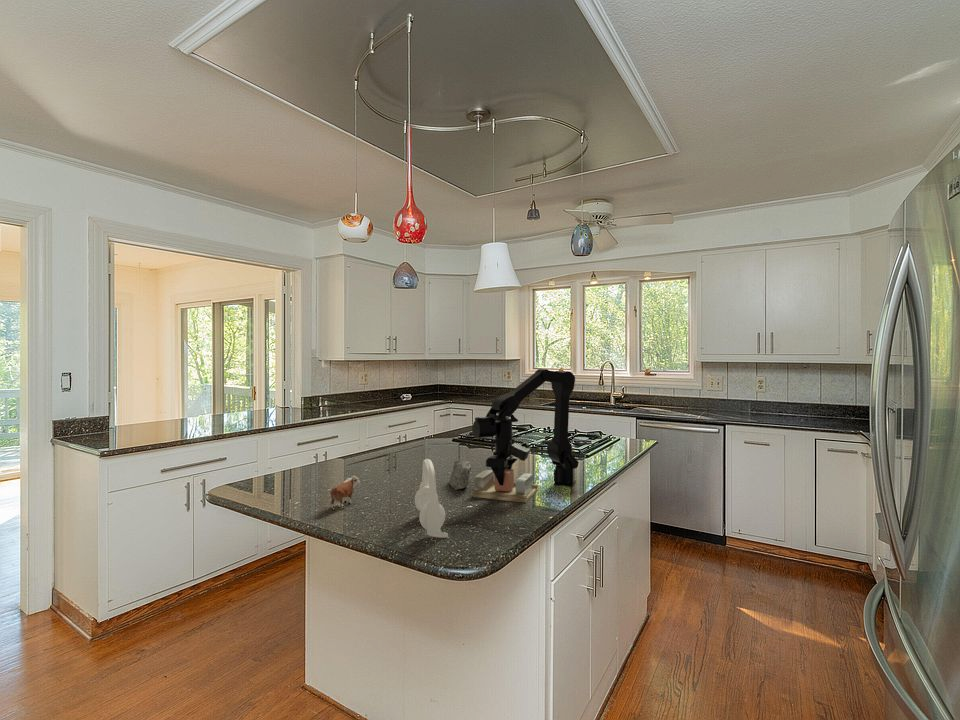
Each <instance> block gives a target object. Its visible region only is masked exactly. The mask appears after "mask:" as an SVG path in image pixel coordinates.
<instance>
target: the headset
mask: <svg viewBox="0 0 960 720" xmlns="http://www.w3.org/2000/svg"><path fill="white" fill-rule="evenodd" d="M435 472H436V471H435V467H434V464H433V462H432V460H431V459H429V458H425V459H423V460H422V473H421V474H422V475H421V477H422V478H421V483H420V484H419V489H418V490H417V491H416V492H415V495H414V504H415V507H416V509H417V510H418V511H419V516H418V517H419V522H420V523H419V524H420V525H421V526H422V528H424V529H425V530H426V533H427V536H429V537H434V538H442V539H444V538H448V537H449V534H448V533H447V532H443V531H442V529H441V527H442V526H443V525H444V524H445V523H444V522H445V520H446V510H445V508H444V506H443V505H442V504H441V503H440V502H439V496H438V493H437V481H436V473H435Z"/></svg>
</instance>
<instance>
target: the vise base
mask: <svg viewBox="0 0 960 720" xmlns="http://www.w3.org/2000/svg"><path fill="white" fill-rule="evenodd" d="M538 486H539V485H538V484H536V483H533V489H532V490H531V491H530V492H529V493H528V494H527V495H519V494H516V487H515V482H514V488H513V489H512V490H510V491H509V492H508V491H498V490H495V475H494V472H493V470H492V469H485V470H483V471H481V472H480V473H478V474H476V475H475V476H474V489H473V490H472V491H471V495H472V498H480V499H488V500H496V501H497V500H498V501H508V502H517V503H527V502H528V501H529V500H530V499H531V498H532V497H533V495H535V494H536V493H537V492H538V490H539V489H538Z"/></svg>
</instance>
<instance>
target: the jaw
mask: <svg viewBox="0 0 960 720" xmlns="http://www.w3.org/2000/svg"><path fill="white" fill-rule="evenodd" d="M514 481H515V487H516V494H519V495H527V494H528V493H529V492H530V491H531V490H532V489H533V484H534V473H528V472H527V473H526V472H524V473H523V474H522V475H520V476H519V477H518V478H516V480H514Z"/></svg>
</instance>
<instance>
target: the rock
mask: <svg viewBox="0 0 960 720" xmlns="http://www.w3.org/2000/svg"><path fill="white" fill-rule="evenodd" d="M471 470H472V465H471V461H470V460H459V459H457V460H456V461H455V462H454V464H453V466H452V472H451V474H450V479H449V485H450V486H451V487H452V489H454V490H455V491H457V490H462V489H465V488H467V487H468V484H469V478H470V472H471Z"/></svg>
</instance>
